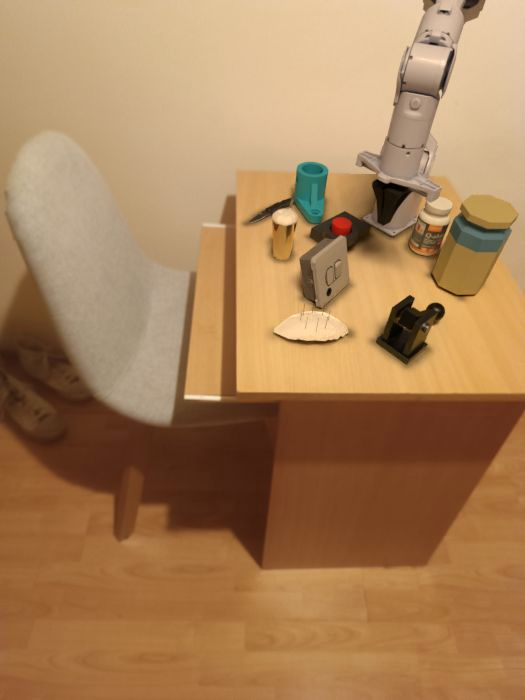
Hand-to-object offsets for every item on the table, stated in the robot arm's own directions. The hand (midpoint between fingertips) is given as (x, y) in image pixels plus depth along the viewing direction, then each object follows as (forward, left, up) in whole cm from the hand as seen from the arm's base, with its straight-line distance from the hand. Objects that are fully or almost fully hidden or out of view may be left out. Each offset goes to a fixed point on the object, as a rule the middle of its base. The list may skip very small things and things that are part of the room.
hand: (383, 222), depth 78 cm
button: (-1, -9, -7) cm, 11 cm away
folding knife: (+1, -25, -10) cm, 27 cm away
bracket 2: (+11, +15, -10) cm, 21 cm away
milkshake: (+9, -14, -11) cm, 20 cm away
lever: (+7, +15, -8) cm, 18 cm away
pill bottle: (-14, +2, -11) cm, 18 cm away
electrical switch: (+11, -2, -11) cm, 15 cm away
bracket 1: (-7, -22, -10) cm, 25 cm away
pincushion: (+20, +4, -11) cm, 23 cm away
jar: (-10, +12, -11) cm, 19 cm away
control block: (-3, -10, -10) cm, 15 cm away
